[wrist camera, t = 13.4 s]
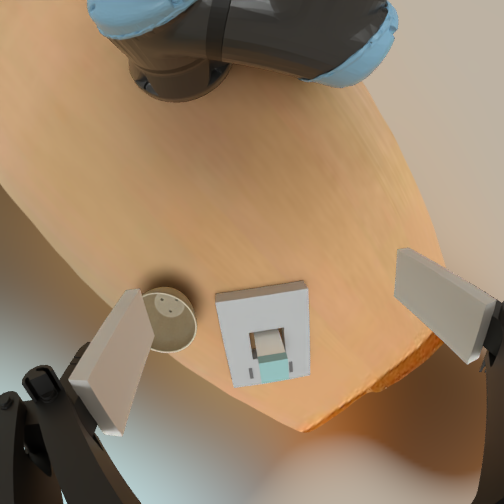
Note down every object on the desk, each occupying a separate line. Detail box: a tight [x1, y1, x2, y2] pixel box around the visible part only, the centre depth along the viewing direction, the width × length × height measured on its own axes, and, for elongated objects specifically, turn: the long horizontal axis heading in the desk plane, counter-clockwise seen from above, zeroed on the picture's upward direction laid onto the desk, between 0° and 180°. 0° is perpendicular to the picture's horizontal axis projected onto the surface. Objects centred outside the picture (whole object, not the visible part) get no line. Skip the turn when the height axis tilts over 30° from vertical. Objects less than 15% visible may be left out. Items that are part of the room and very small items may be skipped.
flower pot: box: [142, 287, 197, 353], centre depth 41 cm, size 10×10×7 cm
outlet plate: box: [215, 281, 310, 388], centre depth 46 cm, size 18×14×3 cm
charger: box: [254, 328, 289, 384], centre depth 43 cm, size 4×4×10 cm
